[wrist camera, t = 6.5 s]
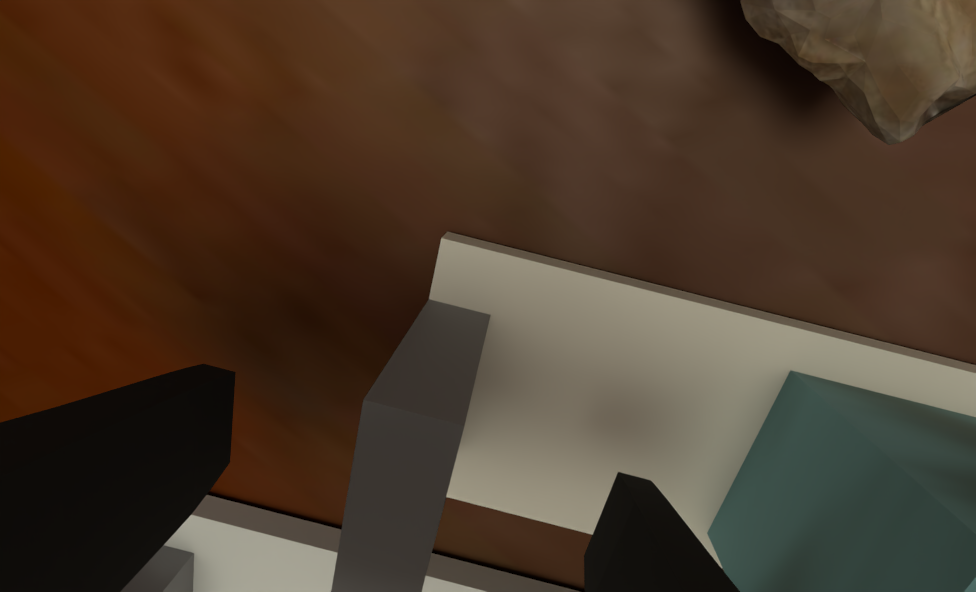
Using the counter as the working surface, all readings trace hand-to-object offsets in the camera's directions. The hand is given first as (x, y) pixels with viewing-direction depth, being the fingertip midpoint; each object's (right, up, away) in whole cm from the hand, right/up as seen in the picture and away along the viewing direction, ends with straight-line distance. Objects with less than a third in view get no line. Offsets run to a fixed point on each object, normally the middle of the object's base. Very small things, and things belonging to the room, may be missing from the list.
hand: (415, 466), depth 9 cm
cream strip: (+6, 0, +4) cm, 7 cm away
